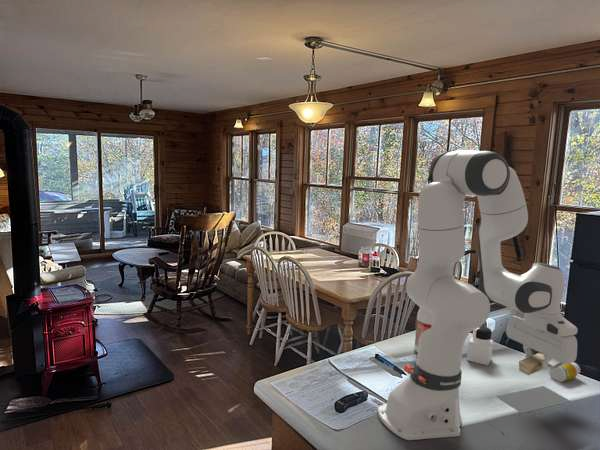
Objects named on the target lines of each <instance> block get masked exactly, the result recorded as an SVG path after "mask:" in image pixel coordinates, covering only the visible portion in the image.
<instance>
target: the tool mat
mask: <svg viewBox="0 0 600 450" xmlns="http://www.w3.org/2000/svg"><path fill="white" fill-rule="evenodd" d="M495 397H496V398H497V399H499V400H500V401H502V402H504V403H505V404H507V405H508V406H509V407H511V408H513V410H516V411H517V412H519V413H520V414H525V413H529V412H533V411H537V410H541V409H545V408H546V409H547V408H549V407H550V408H551V407H554V406H557V405H561V404H565V403H570V402H572V401H571V399H570V400H569V399H568V398H567V397H564V396H563V395H561V394H558V393H557V392H556V391H554V390H551V389H550V388H548V387H546V386H545V385H543V386H542V385H541V386H537V387H531V388H527V389H523V390H519V391H514V392H509V393H505V394H500V395H496V396H495Z"/></svg>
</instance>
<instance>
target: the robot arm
mask: <svg viewBox="0 0 600 450" xmlns="http://www.w3.org/2000/svg"><path fill="white" fill-rule="evenodd" d="M467 195H468V196H472V195H473V196H476V198H477V201H478V208H479V212H480V224H479V225H478V229H477V233H476V234H477V235H476V237H477V248H478V260H479V278H478V279H479V280H478V288H477V287H475V286H474V285H472V284H470V283H467V282H466V281H462V280H460V279H457V278H455V276H454V266H455V263H457V262H459V261H461V259H463V258H464V256H465V254H466V242H465V222H464V221H465V220H464V212H463V205H464V201H465V199H466V197H467ZM526 202H527V201H526V198H525V194H524V190H523V187H522V184H521V182H520V178H519V176H518V175H517V172H516V170H515V169H514V168H512V167H511V166H509V164H508V162H507V160H506V159H505V158H504V157H503V156H502V155H501V154H499V153H497V152H494V151H491V150H473V149H457V150H447V151H443V152H441V153H439V154H437V155H436V156H435V157H434V158H433V159H432V161H431V163H430V165H429V169H428V177H427V184H426V185H424V186H423V187H422V188H421V190H420V191H419V195H418V203H417V229H418V230H417V232H418V250H419V252H418V253H419V254H418V260H417V261H418V262H417V266H416V269H415V271H414V272H412V273H411V274H410V275H409V276H408V279H407V281H406V286H405V289H406V294H407V296H408V297H409V298H410V299H411V301H413V302H414V304H416V305H417V306H418V307H419V308H420V307H421V308H423V309H424V310H426V311H428V312H430V313H432V314H433V317H434V320H433V324H432V326H431V328H430V329H428V330H426V331H424V332H423V333H422V334H421V335H420V337H419V346H418V352H417V360H416V361H415V363H414V365H413V366H411V365H410V364H408V363H407V364H404V366H403V371H404V372H405V373H407V374H408V375H409V377H407V378H406V379H405V380H404V381H402V382H401V383H400V384H398V385H397V386H396V387H395V388H394V389H393V390H391V391H390V393H389V395H388V398H387V401H386V403H385V404H382V405H379V406H378V407H377V415H378V417H379V420H380V421H381V422H382V423H383V424H384V426H385V427H387V428H388V429H389V430H390V431H391V432H392V433H393V434H395V435H396V436H398V437H399V438H402V439H404V440H406V441H414V440H416V441H417V440H427V439H439V438H451V437H460V436H461V428H460V427H461V425H462V421H463V420H462V416H461V411H460V410H461V409H460V389H459V388H460V386H461V384H462V369H461V365H462V358H463V351H464V350H463V349H464V345H465V342H466V340H467V338H468V336H469V335H470V333H471V332H473V330H474V329H477V328H479V327H480V326H484V324H485V323H486V322H487V320H488V318H489V317H490V313H491V303H490V302H493V303H496V304H499V305H502V306H504V307H507V308H509V309H511V311H510V313H509V319H508V322H507V325H506V331H505V334H506V336H507V338H509V339H511V340H513V341H515V342H517V343H519V344H521V345H522V348H523V349H522V350H523V351H524V353H525V358H528V357H530V356H533V355H534V354H533V353H532V350H533V351H536V352H537V353H540V354H543V357H544V358H545V359H544V360H542V361H539V367H541V368H543V369H542V370H545V369H548V368H549V367H548V363H549V362H550V361H551V360H552V359H555V360H557V361H559V362H561V363H563V364H569V363H572V362H574V363H575V362H576V360H577V357H578V356H577V355H578V340H577V338H576V336H575V335H577V334H578V328H577V326H576V325H574V324H573V323H572V322H570V321H569V320H567V319H566V318H565V317H564V316H563V315H562V309H561V308H562V307H561V302H562V300H563V298H564V297H563V296H564V290H565V288H564V287H565V277H564V271H563V269H561V268H560V267H559V266H555V265H551V264H549V263H544V262H543V263H542V262H534V263H533V264H532V265H531V267H530V269H529V270H528V271H527V272H524V273H522V274H520V275H519V274H516V273H513V272H510V271H508V270H507V269H506V268H505V267H504V266H503V264H502V249H501V243H502V242H503V241H506V240H509V239H512V238H514V237H516V236H518V235H519V234H521V233H522V232H523V231H524V230H525V228H526V227H527V225H528V221H529V211H528V206H527V203H526Z"/></svg>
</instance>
